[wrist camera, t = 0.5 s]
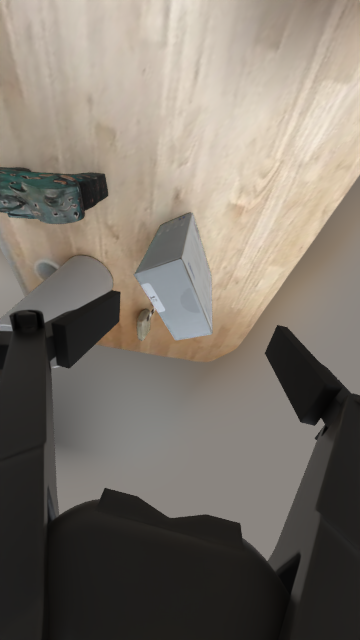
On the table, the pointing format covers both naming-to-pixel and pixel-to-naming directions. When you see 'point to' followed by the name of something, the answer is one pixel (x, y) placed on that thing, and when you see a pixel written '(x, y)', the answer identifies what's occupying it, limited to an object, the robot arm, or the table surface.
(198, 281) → the hard drive box
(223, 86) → the table surface
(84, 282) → the cylinder vase
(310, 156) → the table surface
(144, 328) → the cuneiform tablet
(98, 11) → the table surface
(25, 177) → the ceramic cat
